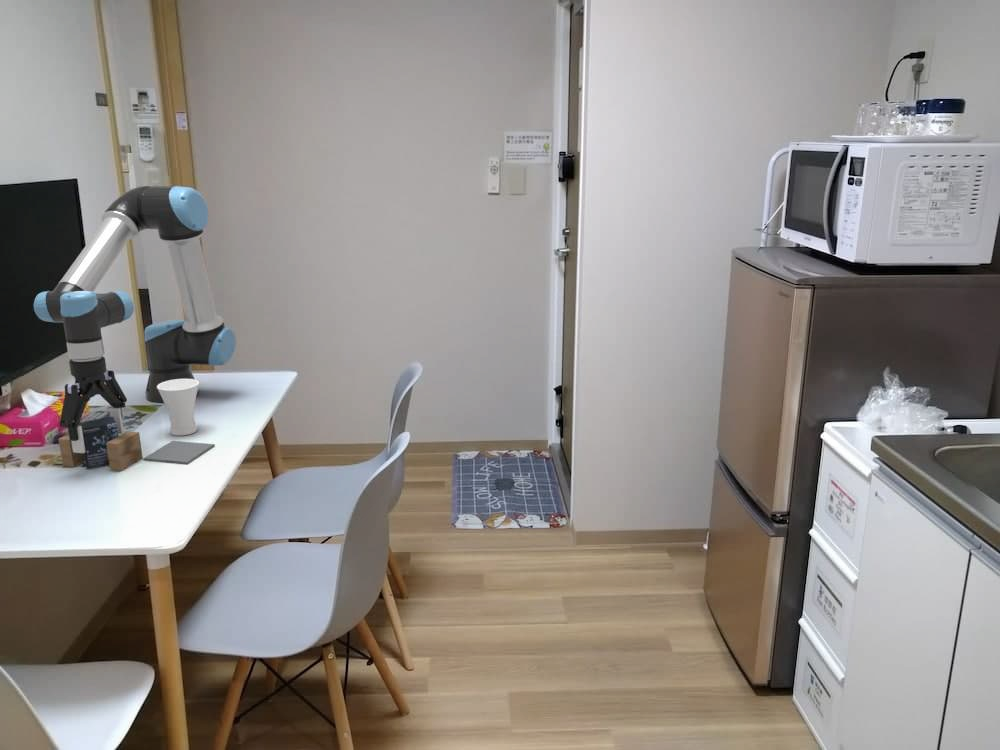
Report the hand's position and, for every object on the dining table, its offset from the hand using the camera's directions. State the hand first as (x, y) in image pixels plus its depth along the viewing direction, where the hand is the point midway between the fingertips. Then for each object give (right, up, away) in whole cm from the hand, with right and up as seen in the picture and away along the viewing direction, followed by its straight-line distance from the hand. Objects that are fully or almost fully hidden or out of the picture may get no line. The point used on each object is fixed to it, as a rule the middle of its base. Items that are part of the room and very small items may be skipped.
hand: (99, 442), depth 186 cm
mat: (+17, -3, +7) cm, 18 cm away
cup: (+11, +1, +22) cm, 25 cm away
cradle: (0, -5, +2) cm, 5 cm away
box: (0, -5, +2) cm, 6 cm away
